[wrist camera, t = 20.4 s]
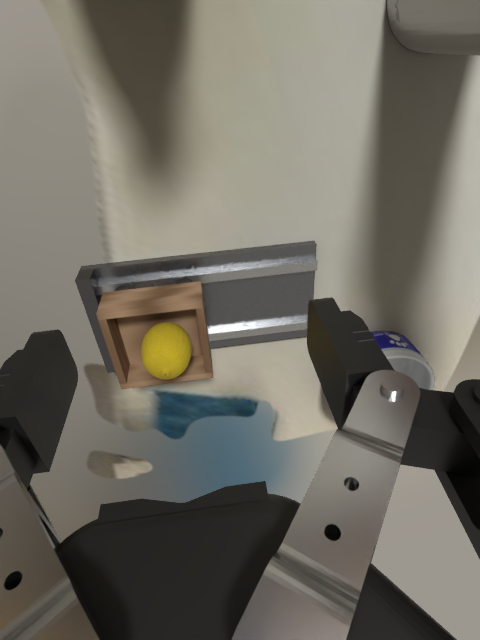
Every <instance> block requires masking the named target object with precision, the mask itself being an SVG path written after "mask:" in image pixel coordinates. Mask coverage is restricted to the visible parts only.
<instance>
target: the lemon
mask: <svg viewBox="0 0 480 640" xmlns="http://www.w3.org/2000/svg"><path fill="white" fill-rule="evenodd" d="M191 354H192V345H191V341H190V338H189V335H188V334H187V332H186V331H185V330H184V329H183V328H182V327H181V326H179V325H177V324H175V323H171V322H163V323H159V324H156V325H155V326H153V327H152V328H150V329H149V331H148V332H147V333H146V334H145V336H144V339H143V341H142V345H141V357H142V361H143V364H144V366H145V368H146V370H147V371H148V372H149V373H150V374H151V375H152V376H154V377H156V378H159V379H165V380H166V379H173V378H175V377H177V376H179V375H180V374H182V373H183V372H184V371H185V369H186V368H187V366H188V364H189V361H190V358H191Z"/></svg>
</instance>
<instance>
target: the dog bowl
mask: <svg viewBox="0 0 480 640" xmlns="http://www.w3.org/2000/svg"><path fill="white" fill-rule="evenodd" d="M371 334H372V335H373V337H374V340H376V342H377V343H378V345H379V346H380V348H381V350H382V351H383V353H384V354H385V356H386V358H387V359H388V361H389V362H390V364H391V365H392V367H393V369H394V370H395V371H397V372H400V373H403V374H405V375H407V376H409V377H410V378H411V379H413V380H414V381H415V382H416V383H417V385H418V387H419V388H422V389H427V390H433V387H434V380H435V378H434V373H433V370H432V368H431V366H430V365H429V364H428V362H427V361H426V360H425V359H424V357H423V356H422V355H421V354H420V352H419V351H418V350H417V349H416V348H415V347H414V345H413V344H412V343H411V342H410V341H409V340H408V339H407V338H405V337H404V336H402V335H400V334H398V333H394V332H389V331H375V332H371Z"/></svg>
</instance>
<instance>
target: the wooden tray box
mask: <svg viewBox="0 0 480 640" xmlns="http://www.w3.org/2000/svg"><path fill="white" fill-rule="evenodd" d="M96 315H97V318H98V321H99V324H100V327H101V330H102V333H103V336H104V339H105V342H106V345H107V348H108V351H109V354H110V356H111V359H112V362H113V365H114V368H115V371H116V374H117V377H118V380H119V383H120V386H121V389H127V388H135V387H143V386H151V385H158V384H166V383H174V382H182V381H189V380H197V379H205V378H213V371H212V360H211V351H210V344H209V336H208V329H207V322H206V315H205V307H204V300H203V293H202V286H201V281H199V282H192V280H191V279H188V278H184V279H180V280H178V281H176V283H175V284H172V285H164V286H155V287H146V288H137V289H132V287H131V286H129V285H122V286H119V287H117V288H116V289H115V290H114V291H111V292H103V294H102V297H101V300H100V303H99V307H98V310H97V313H96ZM163 322H171V323H175V324H177V325H179V326H181V327H182V328H183V329H184V330H185V331H186V332H187V334H188V335H189V338H190V341H191V345H192V354H191V358H190V361H189V364H188V366H187V368H186V369H185V371H184V372H183V373H182V374H180V375H179V376H177V377H175V378H173V379H166V380H165V379H159V378H156V377H154V376H152V375H151V374H150V373H149V372H148V371H147V370H146V368H145V366H144V364H143V361H142V357H141V345H142V341H143V339H144V336H145V334H146V333H147V332H148V331H149V329H150V328H152V327H153V326H155V325H156V324H159V323H163Z"/></svg>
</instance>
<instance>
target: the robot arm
mask: <svg viewBox="0 0 480 640" xmlns="http://www.w3.org/2000/svg"><path fill="white" fill-rule="evenodd" d="M387 12H388V20H389V23H390V26H391V29H392V32H393V33H394V35H395V37H396V38H397V40H398V41H399V42H400V43H401V44H402V45H403V46H404V47H406V48H408V49H410V50H412V51H415V52H421V53H439V54H458V55H480V0H387ZM307 346H308V351H309V355H310V358H311V360H312V363H313V365H314V368H315V370H316V373H317V375H318V378H319V381H320V383H321V386H322V388H323V391H324V393H325V396H326V398H327V401H328V404H329V406H330V409H331V411H332V414H333V416H334V419H335V421H336V424H337V427H338V429H337V430H336V432H335V434H334V435H333V437H332V440H331V442H330V444H329V446H328V448H327V450H326V452H325V454H324V456H323V458H322V460H321V463H320V465H319V467H318V469H317V471H316V473H315V475H314V477H313V479H312V481H311V483H310V486H309V488H308V490H307V492H306V494H305V496H304V498H303V500H302V502H301V504H300V503H298V502H296V501H295V500H292V499H289V498H287V497H283V496H279V495H275V494H268V493H267V488H266V482H265V481H263V482H256V483H249V484H242V485H235V486H228V487H224V488H221V489H219V490H216V491H214V492H212V493H209V494H206V495H204V496H201V497H199V498H196V499H194V500H191V501H189V502H186V503H175V502H166V501H157V500H148V499H136V500H129V501H123V502H115V503H109V504H101V506H100V511H99V517H98V519H97V520H94V521H92V522H90V523H88V524H86V525H84V526H83V527H81V528H80V529H78V530H77V531H75V532H74V533H73V534H71V535H70V536H68V537H67V538H66V539H65V540H63V541H62V539H61V538H60V536H59V535H58V533H57V531H56V529H55V528H54V526H53V524H52V522H51V520H50V518H49V517H48V515H47V513H46V511H45V509H44V508H43V506H42V504H41V502H40V501H39V499H38V497H37V495H36V493H35V492H34V490H33V488H32V487H31V485H30V481H31V478H32V475H33V474H34V473H42V472H49V471H50V468H51V465H52V461H53V458H54V455H55V452H56V449H57V446H58V443H59V440H60V436H61V433H62V430H63V427H64V424H65V421H66V418H67V414H68V411H69V408H70V405H71V402H72V399H73V395H74V392H75V389H76V386H77V382H78V372H77V367H76V364H75V362H74V359H73V357H72V355H71V352H70V350H69V348H68V346H67V343H66V341H65V338H64V336H63V334H62V332H61V331H60V330H50V331H42V332H34V333H32V334H31V336H30V337H29V339H28V341H27V343H26V345H25V347H24V349H23V350H17V351H16V352H15V353H14V354H13V355H12V356H11V357H10V358H8V359H7V360H6V361H5V362H4V364H3V366H2V367H1V369H0V640H456V639H455V638H454V637H453V636H452V635H451V634H450V633H449V632H448V631H446V630H445V629H444V628H443V627H442V626H441V625H440V624H439V623H437V622H436V621H435V620H434V619H433V618H432V617H431V616H430V615H428V614H427V613H426V612H425V611H424V610H423V609H422V608H421V607H419V606H418V605H417V604H416V603H415V602H414V601H413V600H411V599H410V598H409V597H408V596H407V595H406V594H405V593H404V592H403V591H402V590H400V589H399V588H398V587H397V586H396V585H395V584H394V583H393V582H391V581H390V580H389V579H388V578H387V577H386V576H385V575H384V574H382V573H381V572H380V571H379V570H378V569H377V568H376V567H375V566H374V565H373V564H371V561H372V558H373V554H374V551H375V547H376V544H377V541H378V538H379V534H380V531H381V527H382V524H383V521H384V517H385V514H386V511H387V507H388V504H389V501H390V497H391V494H392V490H393V487H394V484H395V481H396V477H397V474H398V471H399V467H400V464H402V465H408V466H414V467H420V468H427V469H433V470H435V472H436V474H437V476H438V478H439V480H440V482H441V483H442V486H443V487H444V490H445V492H446V493H447V496H448V498H449V499H450V501H451V503H452V505H453V507H454V509H455V511H456V513H457V515H458V517H459V519H460V521H461V523H462V525H463V527H464V529H465V531H466V533H467V535H468V537H469V539H470V541H471V543H472V544H473V547H474V549H475V551H476V553H477V555H478V557H479V558H480V380H476V379H475V380H474V379H472V380H465V381H463V382H461V383H459V384H458V385H457V386H456V388H455V391H454V393H451V392H443V391H434V390H427V389H422V388H419V387H418V385H417V383H416V382H415V381H414V380H413V379H411V378H410V377H409V376H407V375H405V374H403V373H400V372H397V371H395V370H394V369H393V367H392V365H391V364H390V362H389V361H388V359H387V358H386V356H385V354H384V353H383V351H382V350H381V348H380V346H379V345H378V343H377V342H376V340H374V337H373V335H372V334H371V332H369V329H368V327H367V326H366V324H365V323H364V321H363V320H362V319H361V318H360V317H359V316H357V315H356V314H354V313H353V312H351V311H342V312H341V311H340V309H339V307H338V305H337V304H336V302H335V300H334V299H333V298H323V299H315V300H310V301H309V303H308V320H307Z"/></svg>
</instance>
